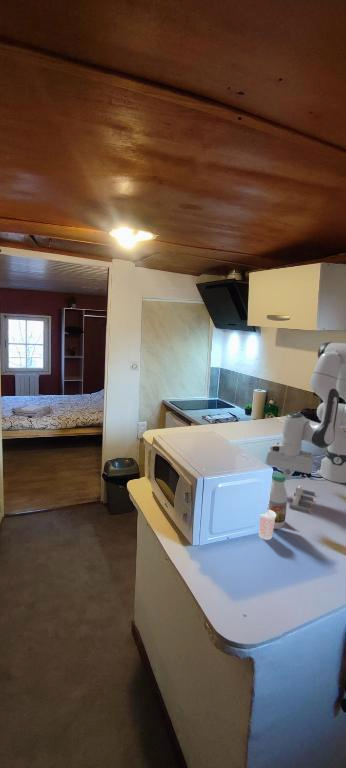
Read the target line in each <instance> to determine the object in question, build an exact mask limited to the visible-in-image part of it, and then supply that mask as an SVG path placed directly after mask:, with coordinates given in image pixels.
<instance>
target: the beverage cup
mask: <svg viewBox="0 0 346 768" xmlns="http://www.w3.org/2000/svg"><path fill="white" fill-rule="evenodd" d="M269 502H270V500H269ZM267 510H268V511H267V512H266V513H265V514H260V516H261V518H260V527H259V526H258V536H259V537H260V539H262V540H265V541H268V540H271V539H272V538H273V532H274V529H273V528H274V522H275V518H276V513H275V512H274V511H272V510H269V504H268V508H267Z"/></svg>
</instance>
